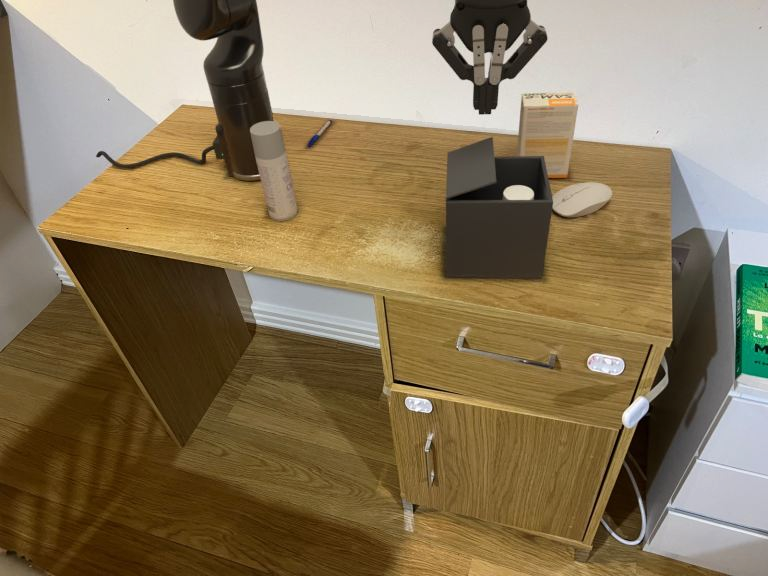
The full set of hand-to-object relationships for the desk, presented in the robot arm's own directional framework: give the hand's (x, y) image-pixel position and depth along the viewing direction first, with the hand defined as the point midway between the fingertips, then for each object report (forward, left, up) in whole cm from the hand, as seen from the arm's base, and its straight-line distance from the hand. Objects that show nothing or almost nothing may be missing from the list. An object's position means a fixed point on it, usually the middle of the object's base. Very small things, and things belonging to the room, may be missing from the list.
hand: (484, 111), depth 71 cm
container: (-31, +10, -22) cm, 39 cm away
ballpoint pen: (-30, +36, -22) cm, 52 cm away
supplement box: (+11, +22, -22) cm, 33 cm away
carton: (+2, 0, -22) cm, 22 cm away
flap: (-1, 0, -8) cm, 8 cm away
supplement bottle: (+5, 0, -21) cm, 22 cm away
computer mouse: (+16, +12, -22) cm, 30 cm away
